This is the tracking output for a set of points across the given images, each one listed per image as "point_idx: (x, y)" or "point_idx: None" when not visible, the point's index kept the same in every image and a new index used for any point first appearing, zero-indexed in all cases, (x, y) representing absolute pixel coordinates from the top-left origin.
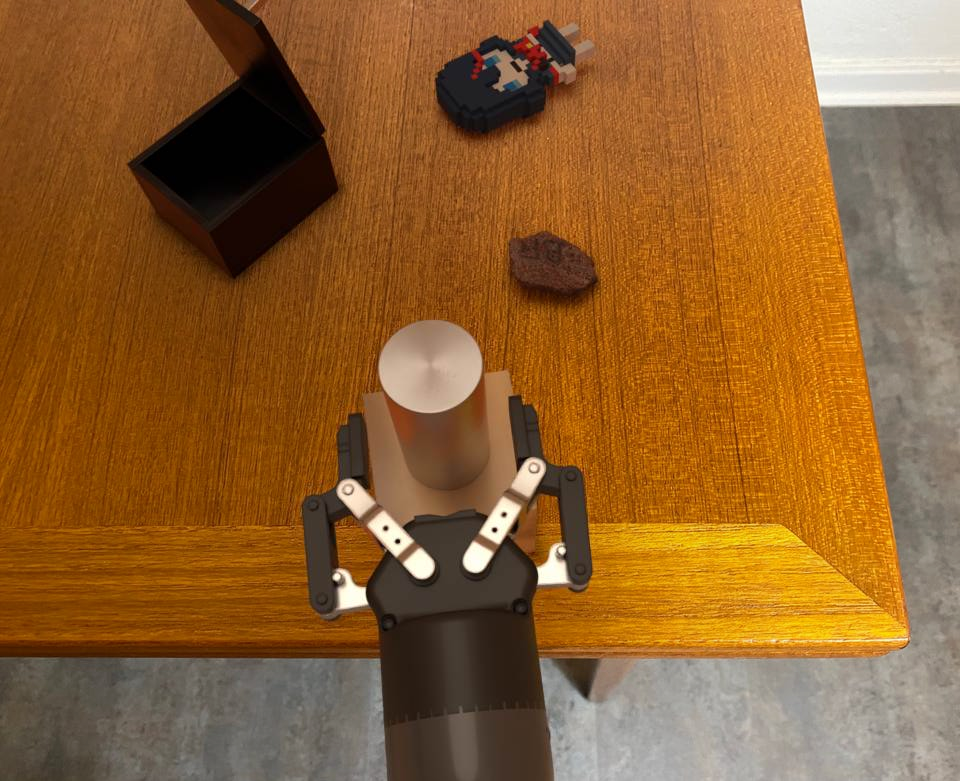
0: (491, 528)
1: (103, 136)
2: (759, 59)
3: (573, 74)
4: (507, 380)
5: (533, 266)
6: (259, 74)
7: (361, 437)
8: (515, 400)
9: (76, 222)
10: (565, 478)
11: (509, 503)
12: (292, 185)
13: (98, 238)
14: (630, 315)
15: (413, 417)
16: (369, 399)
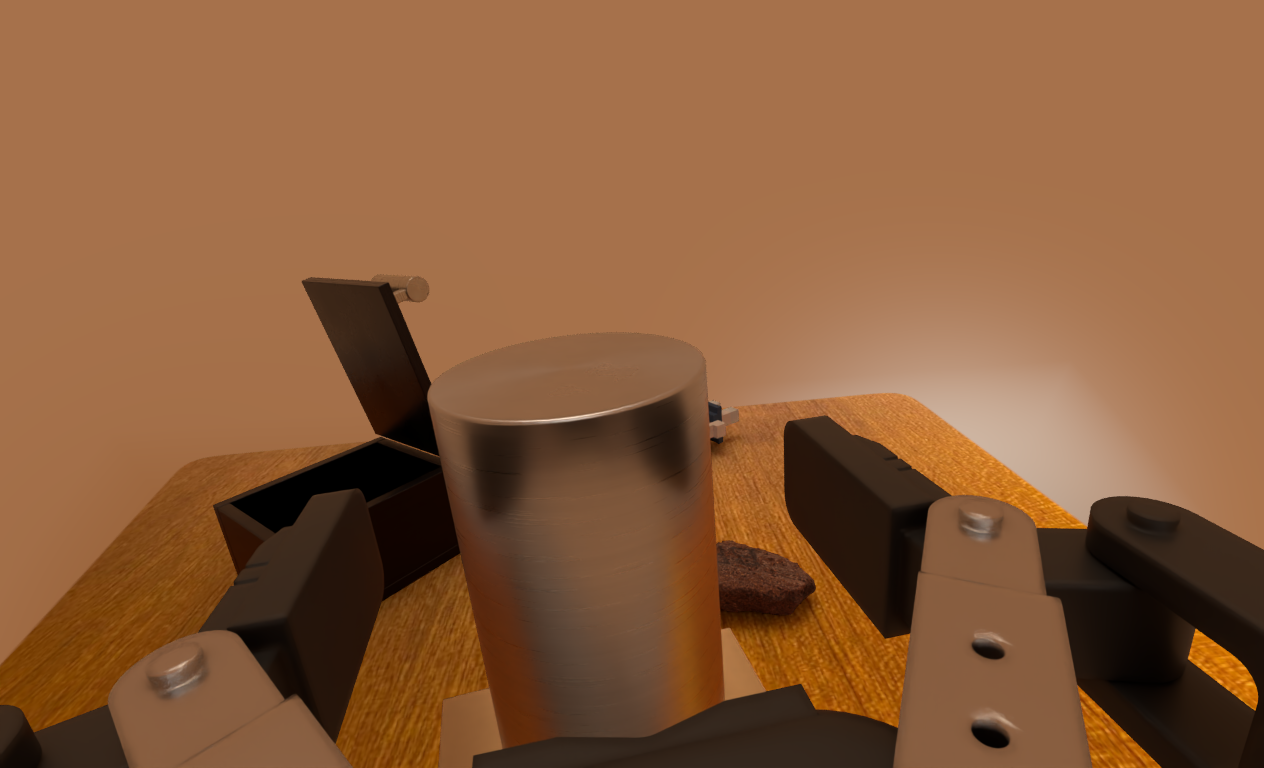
0: (962, 727)
1: (221, 529)
2: (895, 417)
3: (723, 427)
4: (733, 644)
5: (724, 570)
6: (391, 396)
7: (332, 527)
8: (810, 420)
9: (133, 606)
10: (1135, 529)
11: (980, 600)
12: (412, 516)
13: (150, 620)
14: (876, 628)
15: (516, 467)
16: (456, 706)
